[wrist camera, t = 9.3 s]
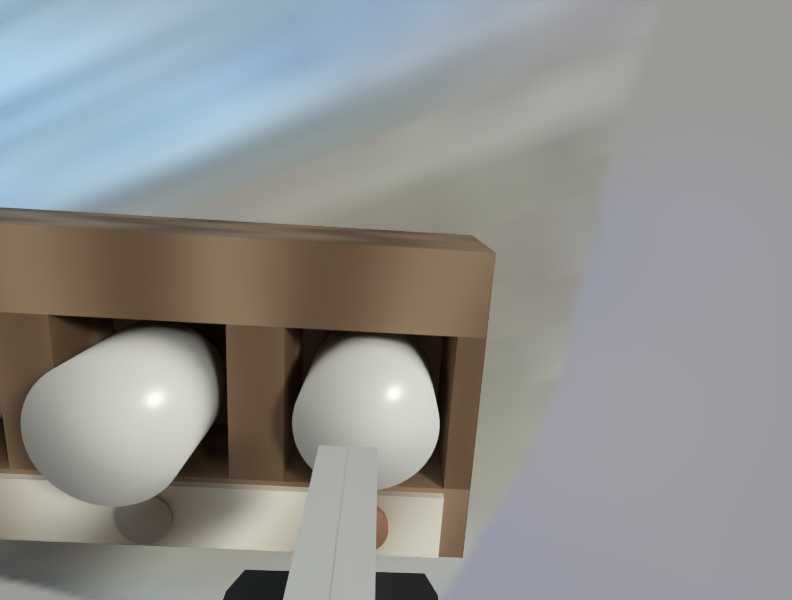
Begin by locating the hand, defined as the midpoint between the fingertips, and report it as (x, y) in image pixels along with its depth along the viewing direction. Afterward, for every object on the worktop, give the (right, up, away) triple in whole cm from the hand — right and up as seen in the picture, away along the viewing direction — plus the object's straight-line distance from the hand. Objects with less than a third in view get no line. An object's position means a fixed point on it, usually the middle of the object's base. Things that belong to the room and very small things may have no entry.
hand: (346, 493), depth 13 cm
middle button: (-8, +2, +7) cm, 10 cm away
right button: (0, +2, +8) cm, 8 cm away
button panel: (-8, +3, +10) cm, 13 cm away
